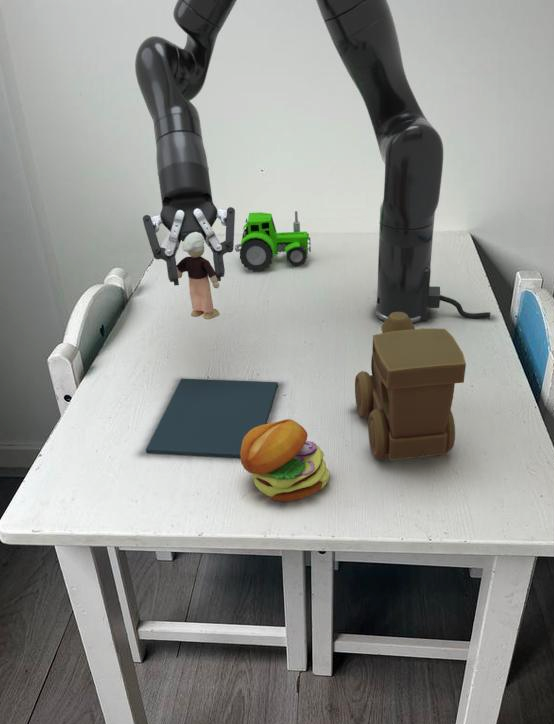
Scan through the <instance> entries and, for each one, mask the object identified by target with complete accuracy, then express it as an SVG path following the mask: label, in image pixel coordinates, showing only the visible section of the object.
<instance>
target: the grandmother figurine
mask: <svg viewBox="0 0 554 724" xmlns="http://www.w3.org/2000/svg"><path fill="white" fill-rule="evenodd" d="M182 242H183V243H182V246H181V249H182V251H183V252H186V253H187V254H188V256H185V257H183V258H182V259H181V260H180V261H179V262H178V263H176V265H177V273H178V279H182V277H183V274H184V273H185V272H187V278H188V290H189V297H190V303H191V309H192V311H191V313H190V316H191V317H194V318H199V317H201V316H202V318H203V320H209V321H210V320H212V319H213V320H214V319H215V318H217V317H219V316H220V314H221V313H220V312H219V310H218V309H216V308H214V303H213V298H212V290H211V284H212V287H213V288H214V289H219V288H220V281H218V279H217V277H216V273H215V268H214V266H212V264H211V262H210V261H209V260H208V259H206V258H204V257H203V255H204V253H205V244H206V242H205V241H204V237H203V236H202V234H201V233H198V232H194V233H190V234H189V235H188V236H187V237H186V238H185V240H184V241H182ZM210 282H211V283H210Z"/></svg>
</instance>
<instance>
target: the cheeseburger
mask: <svg viewBox="0 0 554 724" xmlns="http://www.w3.org/2000/svg"><path fill="white" fill-rule="evenodd" d="M240 455H241V458H240V463H241V466H242V467H243V469H244V470H245V471H247V472H248V473H249V474H251V475H252V478H253V481H254V485H255V487H256V488H257V489H258V490H259V491H260V492H261V493H262V494H263V495H264V496H266V497H268V498H270V499H271V500H273V501H277V502H285V503H286V502H291V501H296V500H300V499H304V498H306V497H309V496H311V495H313V494H315V493H316V492H318V491H319V490H320V491H321V490H322V489H324V488H325V486H326V485H327V484H328V482H329V481H330V472H329V469H328V468H327V463H326V461H325V460H324V457H325V453H324V452H323V450H322V449H321V447H320V446H318V445H317V444H316V443H315V442H313V441H309V440H308V432H307V431H306V429H305V428H304V427H303V426H302V425H301V424H300V423H299V422H298V421H295V420H293V419H290V418H288V419H287V418H286V419H282V420H278V421H275V422H269V423H266V424H264V425H261V426H258V427H255V428H253V429H252V430H250V431H249V432H248V433H247V434H246V436H245V437H244V439H243V441H242V446H241V452H240Z"/></svg>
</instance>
